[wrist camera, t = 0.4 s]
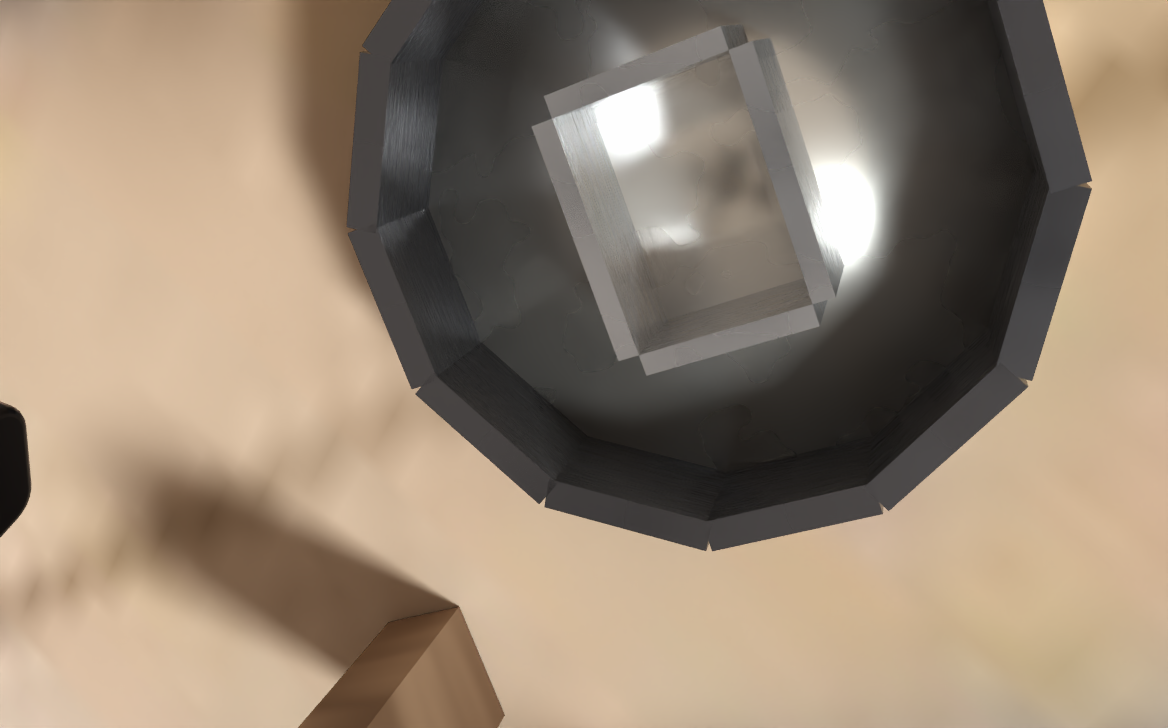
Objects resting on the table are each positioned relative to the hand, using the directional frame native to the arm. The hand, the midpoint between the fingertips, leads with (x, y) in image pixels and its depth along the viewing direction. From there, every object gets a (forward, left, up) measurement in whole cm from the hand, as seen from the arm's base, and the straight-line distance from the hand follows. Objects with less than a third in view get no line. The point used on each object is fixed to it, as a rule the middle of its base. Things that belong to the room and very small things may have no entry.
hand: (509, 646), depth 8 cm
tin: (0, +2, -15) cm, 15 cm away
